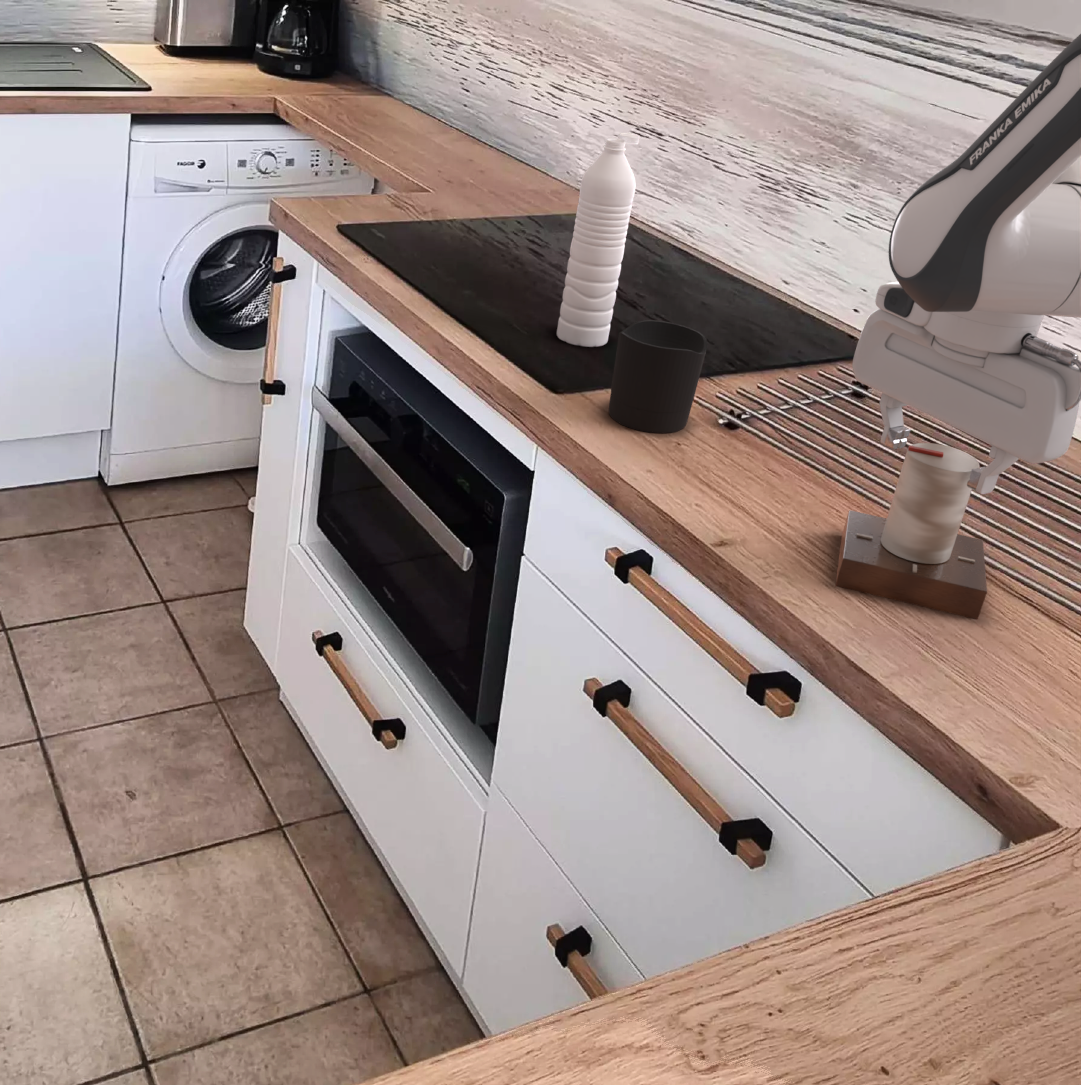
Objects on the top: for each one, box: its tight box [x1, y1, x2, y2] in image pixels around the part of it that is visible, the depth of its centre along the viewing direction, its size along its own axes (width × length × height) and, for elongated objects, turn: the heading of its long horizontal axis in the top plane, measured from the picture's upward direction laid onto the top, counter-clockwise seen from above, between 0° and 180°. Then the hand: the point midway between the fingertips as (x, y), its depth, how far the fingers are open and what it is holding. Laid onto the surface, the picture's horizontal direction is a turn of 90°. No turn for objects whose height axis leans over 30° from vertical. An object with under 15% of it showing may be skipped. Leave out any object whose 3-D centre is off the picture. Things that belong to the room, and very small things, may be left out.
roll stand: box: [834, 509, 988, 620], centre depth 128 cm, size 12×11×3 cm
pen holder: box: [608, 319, 708, 434], centre depth 155 cm, size 9×9×10 cm
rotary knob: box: [881, 442, 980, 564], centre depth 125 cm, size 6×6×9 cm
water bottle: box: [556, 132, 641, 348], centre depth 175 cm, size 9×6×25 cm
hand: (934, 467), depth 124 cm, fingers open, 8 cm apart
